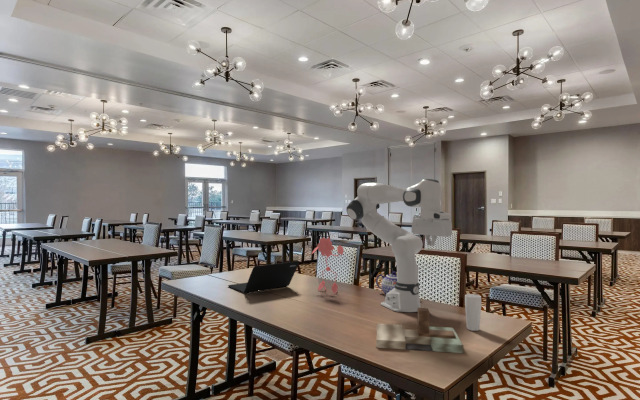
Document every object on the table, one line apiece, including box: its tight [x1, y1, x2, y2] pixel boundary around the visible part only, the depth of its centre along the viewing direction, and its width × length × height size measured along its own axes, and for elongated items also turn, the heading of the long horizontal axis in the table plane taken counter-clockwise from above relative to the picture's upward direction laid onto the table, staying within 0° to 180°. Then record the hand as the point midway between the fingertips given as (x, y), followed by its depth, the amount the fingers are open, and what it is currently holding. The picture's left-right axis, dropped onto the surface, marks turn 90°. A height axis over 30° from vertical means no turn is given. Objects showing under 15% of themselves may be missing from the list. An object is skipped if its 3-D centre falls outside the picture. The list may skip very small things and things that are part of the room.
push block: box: [416, 307, 456, 338], centre depth 150 cm, size 14×6×10 cm, turn 81°
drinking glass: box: [464, 293, 482, 332], centre depth 166 cm, size 7×7×15 cm
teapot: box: [375, 270, 397, 295], centre depth 228 cm, size 25×15×15 cm, turn 48°
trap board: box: [375, 323, 464, 354], centre depth 152 cm, size 32×20×3 cm, turn 81°
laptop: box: [227, 260, 300, 294], centre depth 244 cm, size 33×38×19 cm
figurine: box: [311, 236, 345, 295], centre depth 233 cm, size 15×26×35 cm, turn 51°
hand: (430, 245), depth 168 cm, fingers closed
